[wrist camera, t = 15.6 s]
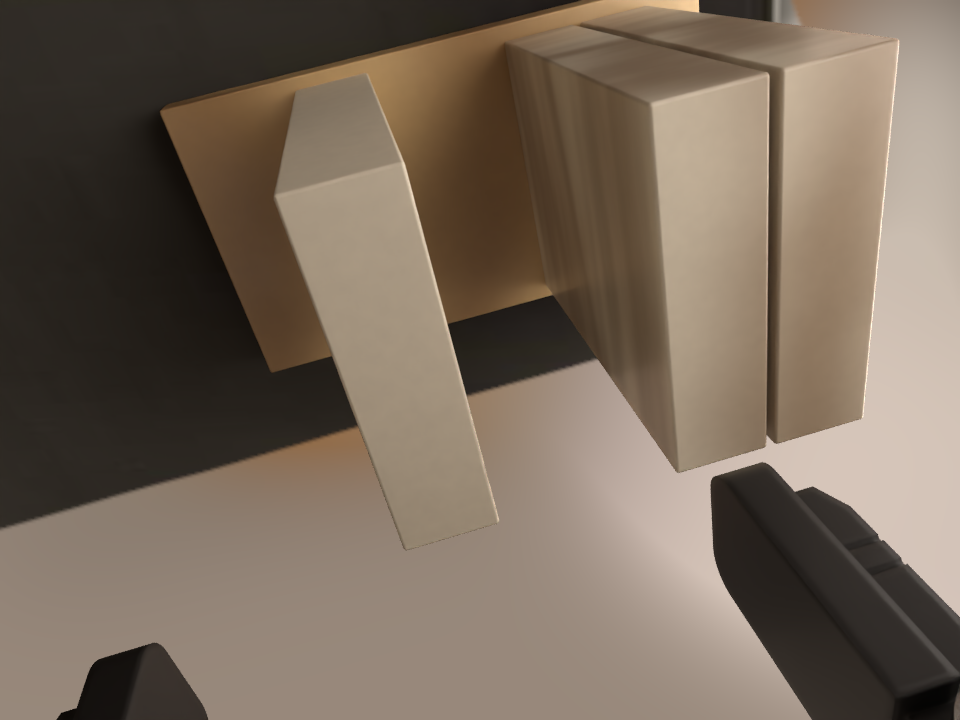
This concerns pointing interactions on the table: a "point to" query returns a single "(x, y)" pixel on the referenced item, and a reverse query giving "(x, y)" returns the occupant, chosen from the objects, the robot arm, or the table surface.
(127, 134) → the table surface
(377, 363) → the cream book
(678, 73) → the cream book rack
